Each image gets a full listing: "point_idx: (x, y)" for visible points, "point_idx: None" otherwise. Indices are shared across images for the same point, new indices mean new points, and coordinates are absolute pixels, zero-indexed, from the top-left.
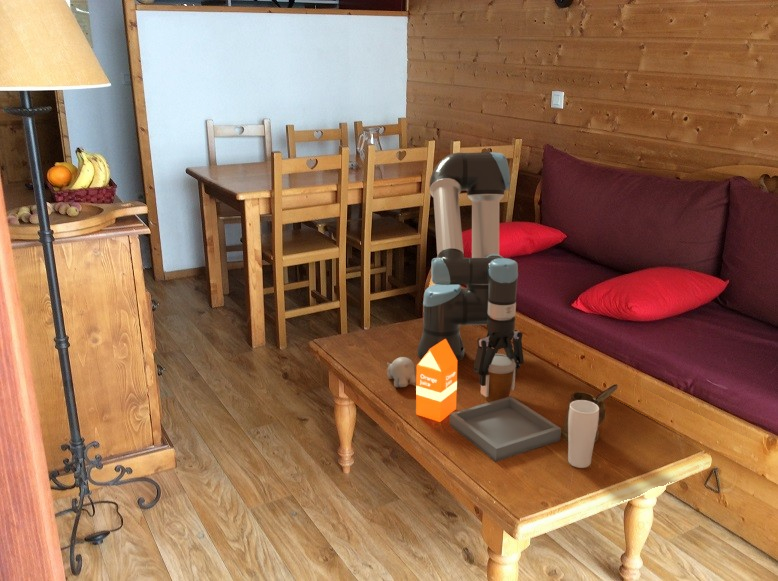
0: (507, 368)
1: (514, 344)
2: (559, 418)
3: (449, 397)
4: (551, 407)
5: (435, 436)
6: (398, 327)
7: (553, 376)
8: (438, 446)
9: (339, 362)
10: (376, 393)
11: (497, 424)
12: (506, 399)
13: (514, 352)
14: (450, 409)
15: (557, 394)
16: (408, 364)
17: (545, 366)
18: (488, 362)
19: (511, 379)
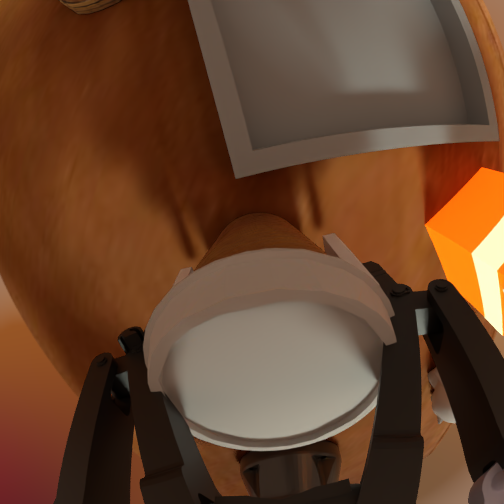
0: (258, 272)
1: (120, 485)
2: (96, 65)
3: (495, 214)
4: (85, 146)
5: (501, 107)
6: None
7: (50, 335)
8: (500, 67)
9: (449, 423)
10: (490, 335)
11: (360, 44)
12: (274, 150)
13: (130, 434)
14: (457, 206)
15: (47, 236)
16: None
17: (67, 379)
18: (415, 352)
19: (204, 259)
